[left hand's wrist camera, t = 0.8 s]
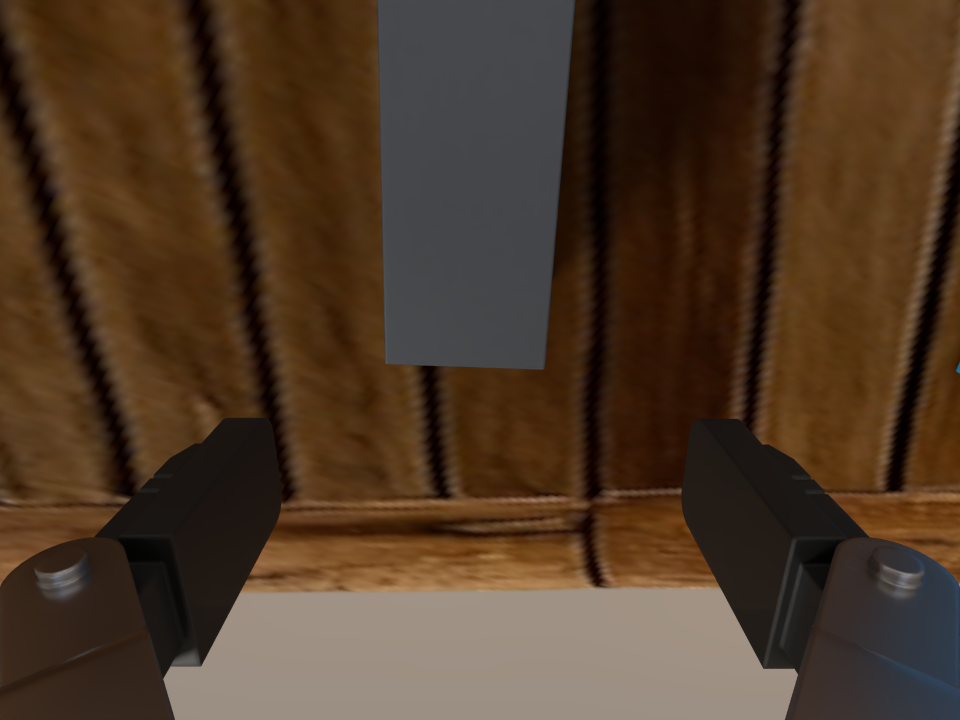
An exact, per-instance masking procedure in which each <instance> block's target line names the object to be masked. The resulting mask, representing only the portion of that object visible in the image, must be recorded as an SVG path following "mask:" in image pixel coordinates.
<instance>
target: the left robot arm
mask: <svg viewBox="0 0 960 720" xmlns="http://www.w3.org/2000/svg"><path fill="white" fill-rule="evenodd" d="M681 497H682V509H683V515H684V518H685V521H686V524H687V526H688V528H689V529H690V531H691V533H692V535H693V537H694V539H695V541H696V543H697V544H698V546H699V548H700V550H701V552H702V554H703V556H704V558H705V560H706V561H707V563H708V565H709V567H710V569H711V571H712V573H713V575H714V576H715V578H716V580H717V582H718V584H719V586H720V588H721V590H722V591H723V593H724V595H725V597H726V599H727V601H728V603H729V605H730V607H731V608H732V610H733V612H734V614H735V616H736V618H737V620H738V622H739V623H740V625H741V627H742V629H743V631H744V633H745V635H746V637H747V639H748V640H749V642H750V644H751V646H752V648H753V650H754V652H755V654H756V655H757V657H758V659H759V661H760V663H761V665H762V667H763V668H764V669H795V670H796V672H797V674H798V677H797V680H796V684H795V687H794V691H793V694H792V697H791V701H790V704H789V708H788V711H787V715H786V718H785V720H960V586H959V584H958V582H957V581H956V580H955V578H954V577H953V576H952V575H951V574H950V573H949V572H948V571H947V570H946V569H945V568H944V567H942V566H941V565H940V564H939V563H937V562H936V561H934V560H933V559H931V558H929V557H928V556H926V555H924V554H922V553H920V552H918V551H916V550H914V549H912V548H909V547H907V546H904V545H901V544H898V543H895V542H891V541H888V540H883V539H878V538H870V537H869V536H868V535H867V534H866V533H865V532H864V531H863V530H862V529H861V528H860V527H859V526H858V525H857V524H856V523H855V522H854V521H853V520H852V519H851V518H850V517H849V516H848V515H847V513H846V512H845V511H844V510H843V509H842V508H841V507H840V506H839V505H838V504H837V503H836V502H835V501H834V500H833V499H832V498H831V497H830V496H829V495H828V494H824V490H823V489H822V488H821V487H820V486H819V485H818V484H817V483H816V482H815V480H811V479H810V475H809V474H808V473H807V472H806V471H805V470H804V469H803V468H802V467H801V466H800V465H799V464H798V463H797V462H796V461H795V460H794V459H793V458H791V457H789V456H787V455H786V454H784V453H782V452H780V451H779V450H777V449H775V448H774V447H772V446H770V445H762V444H761V443H760V441H759V440H758V439H757V438H756V437H755V436H754V435H753V434H752V433H751V432H750V431H749V429H748V428H747V427H746V426H745V425H744V424H743V423H742V422H741V421H740V420H738V419H696V420H695V421H694V422H693V424H692V427H691V431H690V437H689V444H688V451H687V458H686V464H685V471H684V478H683V485H682V496H681ZM281 498H282V494H281V484H280V477H279V470H278V463H277V456H276V449H275V442H274V435H273V429H272V425H271V423H270V421H269V420H268V419H267V418H225V419H224V420H222V421H221V423H220V424H219V425H218V426H217V427H216V428H215V429H214V430H213V431H212V432H211V434H210V435H209V436H208V437H207V438H206V439H205V440H204V441H203V442H202V444H194V445H192V446H190V447H188V448H187V449H185V450H183V451H181V452H180V453H178V454H176V455H175V456H173V457H171V458H170V459H169V460H168V461H167V462H166V463H165V464H164V465H163V466H162V467H161V468H160V469H159V470H158V471H157V472H156V473H155V474H154V478H150V479H149V480H148V482H147V483H146V484H145V485H144V486H143V487H142V488H141V489H140V493H136V494H135V495H134V496H133V497H132V498H131V499H130V500H129V501H128V502H127V503H126V504H125V505H124V507H123V508H122V509H121V510H120V511H119V512H118V513H117V514H116V515H115V516H114V517H113V518H112V519H111V520H110V521H109V522H108V523H107V524H106V525H105V526H104V527H103V528H102V529H101V530H100V532H99V533H98V534H97V535H96V536H95V537H90V538H82V539H77V540H72V541H69V542H65V543H62V544H59V545H56V546H53V547H51V548H48V549H46V550H44V551H42V552H40V553H38V554H36V555H34V556H32V557H31V558H29V559H27V560H26V561H24V562H23V563H21V564H20V565H19V566H18V567H16V568H15V569H14V570H13V571H12V572H11V573H10V574H9V575H8V576H7V577H6V578H5V580H4V581H3V582H2V584H1V586H0V720H175V718H174V715H173V711H172V708H171V704H170V701H169V697H168V694H167V691H166V687H165V684H164V680H163V678H164V676H165V675H166V673H167V671H168V670H169V668H170V666H202V664H203V662H204V660H205V658H206V656H207V654H208V652H209V650H210V648H211V647H212V645H213V643H214V641H215V639H216V637H217V635H218V633H219V631H220V629H221V628H222V626H223V624H224V622H225V620H226V618H227V616H228V614H229V612H230V610H231V609H232V607H233V605H234V603H235V601H236V599H237V597H238V595H239V593H240V591H241V589H242V588H243V586H244V584H245V582H246V580H247V578H248V576H249V574H250V572H251V570H252V569H253V567H254V565H255V563H256V561H257V559H258V557H259V555H260V553H261V551H262V549H263V548H264V546H265V544H266V542H267V540H268V538H269V536H270V534H271V532H272V530H273V529H274V527H275V525H276V523H277V520H278V517H279V514H280V509H281Z"/></svg>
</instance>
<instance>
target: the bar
mask: <svg viewBox="0 0 960 720" xmlns="http://www.w3.org/2000/svg"><path fill="white" fill-rule="evenodd" d="M575 2H576V0H377V9H378V56H379V102H380V149H381V195H382V241H383V288H384V334H385V362H386V364H400V365H429V366H458V367H487V368H516V369H544V368H545V359H546V347H547V335H548V323H549V311H550V300H551V288H552V276H553V264H554V252H555V240H556V228H557V216H558V204H559V192H560V181H561V169H562V157H563V145H564V133H565V121H566V109H567V97H568V85H569V73H570V61H571V50H572V38H573V26H574V14H575Z"/></svg>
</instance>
